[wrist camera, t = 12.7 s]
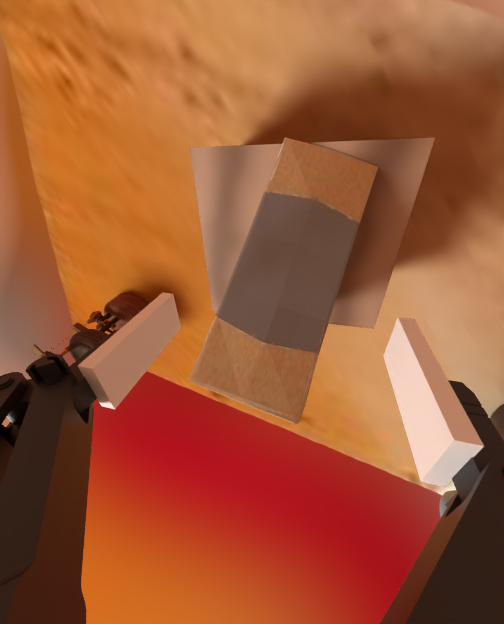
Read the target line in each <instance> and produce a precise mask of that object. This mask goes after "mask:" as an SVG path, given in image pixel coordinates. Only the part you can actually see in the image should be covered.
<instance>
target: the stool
mask: <svg viewBox="0 0 504 624" xmlns="http://www.w3.org/2000/svg"><path fill="white" fill-rule="evenodd" d="M434 140H435V137H433V138H409V139H385V140H360V141H336V142H312V143H309V144H313V145H317V146H321V147H325V148H329V149H332V150H335V151H338V152H341V153H343V154H346V155H348V156H351V157H354V158H356V159H359V160H362V161H364V162H367V163H370V164H372V165H375V166H377V167H378V169H377V172H376V175H375V178H374V181H373V184H372V188H371V191H370V194H369V197H368V200H367V203H366V206H365V209H364V212H363V215H362V218H361V221H360V224H359V227H358V230H357V233H356V237H355V240H354V243H353V246H352V249H351V253H350V256H349V259H348V262H347V265H346V268H345V272H344V275H343V278H342V281H341V284H340V288H339V291H338V294H337V297H336V300H335V304H334V307H333V310H332V313H331V316H330V319H329V323H328V324H336V325H345V326H354V327H363V328H371V329H374V327H375V324H376V321H377V318H378V314H379V311H380V308H381V305H382V302H383V299H384V296H385V293H386V290H387V286H388V283H389V280H390V277H391V274H392V271H393V268H394V265H395V261H396V258H397V255H398V252H399V249H400V246H401V243H402V240H403V237H404V233H405V230H406V227H407V224H408V221H409V218H410V215H411V212H412V208H413V205H414V202H415V199H416V196H417V193H418V190H419V187H420V184H421V180H422V177H423V174H424V171H425V168H426V165H427V162H428V159H429V155H430V152H431V149H432V146H433V143H434ZM281 146H282V144H264V145H240V146H216V147H192V148H190V152H191V159H192V166H193V173H194V180H195V187H196V194H197V202H198V209H199V216H200V223H201V230H202V237H203V244H204V251H205V258H206V265H207V272H208V279H209V286H210V293H211V300H212V307H213V311H218V308H219V306H220V303H221V301H222V298H223V295H224V293H225V290H226V288H227V285H228V283H229V280H230V278H231V275H232V272H233V270H234V267H235V265H236V262H237V260H238V257H239V255H240V252H241V250H242V247H243V245H244V242H245V240H246V238H247V235H248V233H249V230H250V227H251V225H252V222H253V219H254V217H255V214H256V212H257V209H258V206H259V204H260V201H261V198H262V196H263V193H264V191H265V188H266V185H267V183H268V180H269V177H270V175H271V172H272V170H273V167H274V164H275V162H276V159H277V156H278V154H279V151H280V148H281Z"/></svg>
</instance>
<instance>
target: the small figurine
mask: <svg viewBox="0 0 504 624" xmlns="http://www.w3.org/2000/svg"><path fill="white" fill-rule="evenodd" d="M148 305H149V304H148V303H147V302H146V301H144V300H143V299H142V298H140V297H138V296H136V295H133V294H129V293H123V294H120V295H118V296H117V297H115V298H114V299H112V300H111V301H110V302H108V303H107V304H106V305H105V308H104V316H103V315H102V314H101V312H100V311H97V312H93V313H92V314H91V315H90V319H89V320H88V321H87V322H86V324H87V323H88V324H89V323H92V322H95V321H96V322H97V323H98V325H97V326H96V330H95V329H87V328H86V327H84V325H83V326H82V325H81V324H79V323H76V324H75V325H73V326H72V329H73V330H75V332H77V333H76V334H75V335H73V337H72V338H71V340H70V342H69V347H66V348H65V351H64V352H63V353H61V354H60V355H61V356H63V355H65V354H66V353H67V352H70V353H71V355H72V357H73V358H74V359H75V361H77V360H78V359H79V358H81V357H82V356H83V355H84V354H85V353H87V352H88V351H89V350H90V349H93V347H94V346H95V345H96V344H99V342H100V341H101V340H102V339H103V338H105V337H106V336H107V335H108V334H106V333H104V332H105V331H108V332H110V333H113V332H115V331H119V330H120V329H121V328H122V327H123V326H124V325H126V324H127V323H128V322H129V321H130V320H131V319H133V318H134V317H135V316H136V315H137V314H138V313H139V312H141V311H142V310H143V309H144V308H145V307H146V306H148ZM86 324H85V325H86ZM103 324H105V326H104V325H103ZM110 327H111V329H112V330H113V331H111V330H110V329H109V328H110ZM75 332H74V333H75ZM74 333H72V334H74ZM72 334H71V335H72ZM71 335H70V336H71ZM64 340H65V339H64ZM64 340H63V341H64ZM60 343H61V342H60ZM60 343H59V344H60ZM59 344H58V345H59ZM56 346H57V345H56ZM56 346H55V347H56ZM32 349H33V350H32V353H34V354H35V355H37V356H39V357H40V358H42V357H45V356H48V355H53V354H54V353H51V352H48V351H46V352H45V353H44V352H42V351H41V350H40V349H39V348H38V347H37V346H36V345H35V344H34V345H33V348H32ZM52 349H54V347H53V348H51V350H52ZM51 350H50V351H51ZM67 365H68V364H67Z"/></svg>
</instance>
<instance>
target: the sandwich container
mask: <svg viewBox="0 0 504 624" xmlns="http://www.w3.org/2000/svg"><path fill="white" fill-rule="evenodd" d="M377 169H378V167H377V166H375V165H372V164H370V163H367V162H364V161H362V160H359V159H356V158H354V157H351V156H348V155H346V154H343V153H341V152H338V151H335V150H332V149H329V148H325V147H321V146H317V145H313V144H309V143H305V142H301V141H298V140H294V139H290V138H286V137H285V138H284V141H283V143H282V146H281V148H280V151H279V154H278V156H277V159H276V162H275V164H274V167H273V170H272V172H271V175H270V177H269V180H268V183H267V185H266V188H265V191H264V193H263V196H262V198H261V201H260V204H259V206H258V209H257V212H256V214H255V217H254V219H253V222H252V225H251V227H250V230H249V233H248V235H247V238H246V240H245V242H244V245H243V247H242V250H241V252H240V255H239V257H238V260H237V262H236V265H235V267H234V270H233V272H232V275H231V278H230V280H229V283H228V285H227V288H226V290H225V293H224V295H223V298H222V301H221V303H220V306H219V308H218V311H217V313H216V316H215V318H214V321H213V323H212V325H211V328H210V330H209V332H208V335H207V337H206V340H205V342H204V344H203V347H202V349H201V351H200V354H199V356H198V359H197V361H196V363H195V366H194V368H193V370H192V373H191V375H190V377H189V382H192V383H194V384H197V385H199V386H202V387H204V388H206V389H209V390H211V391H214V392H216V393H219V394H221V395H224V396H226V397H228V398H231V399H233V400H236V401H238V402H241V403H243V404H246V405H248V406H251V407H253V408H256V409H259V410H261V411H264V412H266V413H269V414H271V415H274V416H276V417H279V418H281V419H284V420H286V421H289V422H292V423H294V424H298V423H299V422H300V421H301V418H302V414H303V410H304V407H305V403H306V399H307V396H308V392H309V388H310V384H311V381H312V377H313V373H314V370H315V366H316V362H317V359H318V355H319V352H320V348H321V345H322V342H323V339H324V335H325V332H326V329H327V326H328V323H329V319H330V316H331V313H332V310H333V307H334V304H335V300H336V297H337V294H338V291H339V288H340V284H341V281H342V278H343V275H344V272H345V268H346V265H347V262H348V259H349V256H350V253H351V249H352V246H353V243H354V240H355V237H356V233H357V230H358V227H359V224H360V221H361V218H362V215H363V212H364V209H365V206H366V203H367V200H368V197H369V194H370V191H371V188H372V184H373V181H374V178H375V175H376V172H377Z"/></svg>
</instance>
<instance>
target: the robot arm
mask: <svg viewBox="0 0 504 624" xmlns="http://www.w3.org/2000/svg"><path fill="white" fill-rule="evenodd" d="M180 329H181V325H180V321H179V316H178V312H177V308H176V304H175V299H174V295H173V294H171V293H162V294H160V295H159V296H158V297H157V298H156V299H155V300H153V301H152V302H151V303H150V304H149V305H148V306H146V307H145V308H144V309H143V310H142V311H141V312H139V313H138V314H137V315H136V316H135V317H134V318H133V319H131V320H130V321H129V322H128V323H127V324H126V325H124V326H123V327H122V328H121V329H120V330H119V331H115V332H113V333H111V334H109V335H107V336H106V337H105V338H103V339H102V340H101V341H100V342H99V344H96V345H95V346H94V347H93V349H90V350H89V351H88V352H87V353H85V354H84V355H83V356H82V357H81V358H79V359H78V360H77V361H76V362H75V363H73V364H72V365H71V366H70V367H69V366H68V365H67V363H66V361H65V360H64V358H63V357H62V356H61V355H57V354H53V355H48V356H45V357H42V358H40V359H38V360H36V361H34V362H33V363H32V364H31V365H29V366H28V368H27V369H26V372H27V373H28V374H29V376H30V377H31V378H32V379H29V380H27V379H26V378H25V377H24V376H23V374H22V373H19V372H12V373H8V374H5V375H2V376H0V624H86V606H85V600H84V597H83V594H82V590H81V573H82V560H83V548H84V534H85V521H86V508H87V494H88V482H89V468H90V455H91V442H92V428H93V415H94V407H93V404H92V403H93V402H94V401H95V400H96V399H98V401H99V403H100V404H101V406H103V407H107V408H112V409H115V408H116V407H117V406H118V405H119V403H120V402H121V401H122V400H123V399H124V397H125V396H126V395H127V394H128V392H129V391H130V390H131V389H132V387H133V386H134V385H135V384H136V383H137V381H138V380H139V379H140V378H141V377H142V375H143V374H144V373H145V372H146V370H147V369H148V368H149V367H150V366H151V364H152V363H153V362H154V361H155V359H156V358H157V357H158V356H159V355H160V353H161V352H162V351H163V350H164V348H165V347H166V346H167V345H168V344H169V342H170V341H171V340H172V339H173V337H174V336H175V335H176V334H177V333H178V331H179V330H180ZM384 360H385V363H386V366H387V370H388V373H389V376H390V380H391V383H392V386H393V390H394V393H395V396H396V400H397V403H398V407H399V410H400V413H401V417H402V420H403V423H404V427H405V430H406V433H407V437H408V440H409V444H410V447H411V450H412V454H413V457H414V460H415V464H416V467H417V470H418V474H419V477H420V481H421V482H425V483H429V484H433V485H437V486H442V487H446V486H447V485H448V484H449V483H450V482H451V480H453V482H454V485H455V487H456V490H454V491H447V492H445V493H444V495H443V496H442V497H441V500H440V516H441V519H440V521H439V522H438V524H437V526H436V527H435V529H434V531H433V533H432V534H431V536H430V538H429V540H428V541H427V543H426V545H425V546H424V548H423V550H422V552H421V553H420V555H419V557H418V559H417V560H416V562H415V564H414V565H413V567H412V569H411V571H410V572H409V574H408V576H407V578H406V580H405V581H404V583H403V584H402V586H401V588H400V590H399V591H398V593H397V595H396V597H395V598H394V600H393V602H392V603H391V605H390V607H389V609H388V610H387V612H386V614H385V616H384V617H383V619H382V621H381V622H380V624H504V405H502V406H500V407H499V408H498V409H497V410H496V411H495V412H494V413H493V414H492V416H491V419H490V418H488V415H487V413H486V412H485V410H484V408H482V407H481V406H482V405H481V404H480V402H479V401H478V399H477V397H476V396H475V394H474V393H473V392H472V391H471V390H470V389H469V388H467V387H466V386H465V385H464V384H463V383H462V382H456V381H449V380H448V379H447V378H446V376H445V374H444V372H443V370H442V369H441V367H440V365H439V363H438V361H437V359H436V358H435V356H434V354H433V352H432V350H431V349H430V347H429V345H428V343H427V341H426V340H425V338H424V336H423V334H422V332H421V330H420V329H419V327H418V325H417V323H416V321H415V320H414V319H408V318H399V317H398V319H397V321H396V324H395V327H394V329H393V332H392V335H391V337H390V340H389V343H388V345H387V348H386V351H385V353H384ZM6 417H7V418H8V419H9V420H10V421H11V422H10V423H9V425H8V426H7V427H4V426H3V425H2V422H3V421H4V420H5V418H6Z"/></svg>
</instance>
